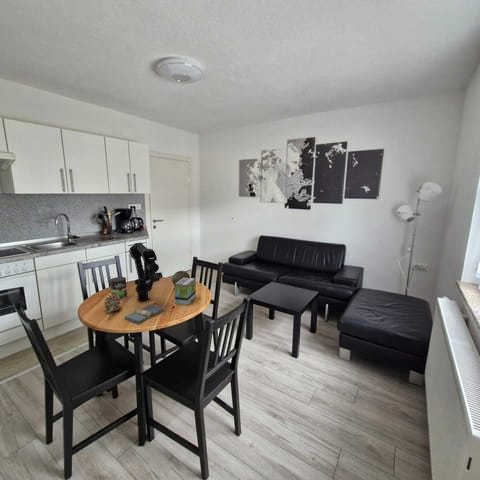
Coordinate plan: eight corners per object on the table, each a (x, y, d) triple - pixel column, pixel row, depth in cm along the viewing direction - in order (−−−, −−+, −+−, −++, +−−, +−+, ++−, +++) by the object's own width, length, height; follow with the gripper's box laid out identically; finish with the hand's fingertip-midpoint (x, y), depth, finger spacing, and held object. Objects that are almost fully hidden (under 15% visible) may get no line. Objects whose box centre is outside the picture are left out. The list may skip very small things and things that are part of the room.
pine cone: (106, 306, 169) (105, 292, 168) (121, 304, 173) (120, 290, 171) (101, 321, 149) (100, 305, 147) (119, 319, 152) (118, 303, 151)
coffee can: (128, 298, 183) (127, 279, 181) (113, 301, 177) (111, 282, 175) (125, 293, 191) (124, 275, 189) (110, 296, 185) (108, 278, 183)
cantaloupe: (171, 287, 205) (170, 269, 202) (188, 285, 211) (187, 267, 208) (174, 293, 192) (173, 274, 190) (192, 291, 198) (192, 272, 196)
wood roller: (138, 313, 160) (139, 307, 160) (152, 317, 156) (152, 310, 156) (133, 315, 157) (134, 309, 157) (147, 319, 152) (147, 312, 152)
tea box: (188, 305, 172) (187, 284, 170) (174, 304, 174) (173, 283, 172) (196, 297, 187) (195, 277, 184) (183, 295, 189) (183, 276, 186)
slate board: (150, 306, 169) (150, 304, 169) (164, 310, 164) (163, 308, 163) (124, 319, 152) (124, 316, 152) (138, 324, 146) (138, 321, 146)
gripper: (146, 274, 154) (147, 298, 157) (168, 267, 170) (168, 288, 173) (133, 271, 159) (134, 294, 162) (156, 264, 175) (156, 285, 178)
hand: (149, 290), depth 169 cm, fingers closed
